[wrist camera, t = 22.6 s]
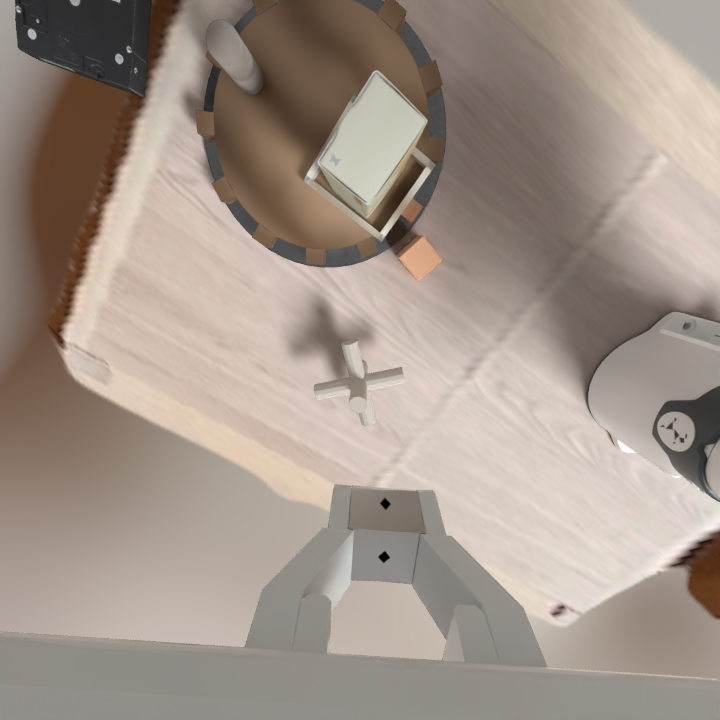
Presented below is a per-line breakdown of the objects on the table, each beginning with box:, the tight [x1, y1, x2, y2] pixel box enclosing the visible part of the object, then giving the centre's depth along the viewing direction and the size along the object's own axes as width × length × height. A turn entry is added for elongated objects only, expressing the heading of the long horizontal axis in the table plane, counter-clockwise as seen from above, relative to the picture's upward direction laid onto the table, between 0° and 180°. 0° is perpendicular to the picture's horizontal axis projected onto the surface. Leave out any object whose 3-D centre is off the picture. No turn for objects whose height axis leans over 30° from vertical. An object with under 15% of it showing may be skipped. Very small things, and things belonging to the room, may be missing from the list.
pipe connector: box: [314, 339, 405, 426], centre depth 37 cm, size 10×10×10 cm
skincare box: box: [317, 70, 428, 219], centre depth 26 cm, size 6×4×12 cm
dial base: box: [204, 0, 446, 267], centre depth 33 cm, size 24×24×1 cm
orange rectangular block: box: [396, 236, 443, 281], centre depth 35 cm, size 3×3×5 cm
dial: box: [196, 0, 446, 265], centre depth 29 cm, size 23×23×8 cm
